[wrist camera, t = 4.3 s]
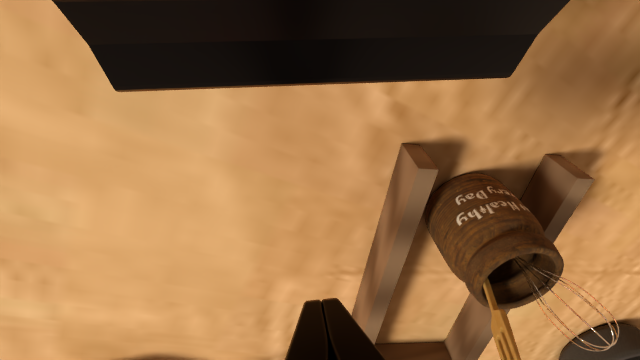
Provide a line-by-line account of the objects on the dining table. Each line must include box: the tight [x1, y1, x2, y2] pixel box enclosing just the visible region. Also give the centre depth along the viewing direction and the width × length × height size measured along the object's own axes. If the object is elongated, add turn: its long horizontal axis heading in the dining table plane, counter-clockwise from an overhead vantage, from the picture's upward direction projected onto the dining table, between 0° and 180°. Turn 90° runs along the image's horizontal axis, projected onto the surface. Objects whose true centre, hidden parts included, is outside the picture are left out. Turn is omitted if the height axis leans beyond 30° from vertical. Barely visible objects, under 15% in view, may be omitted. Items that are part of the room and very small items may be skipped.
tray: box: [352, 144, 595, 360], centre depth 28 cm, size 22×11×3 cm, turn 172°
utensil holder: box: [425, 174, 619, 360], centre depth 20 cm, size 6×6×12 cm
